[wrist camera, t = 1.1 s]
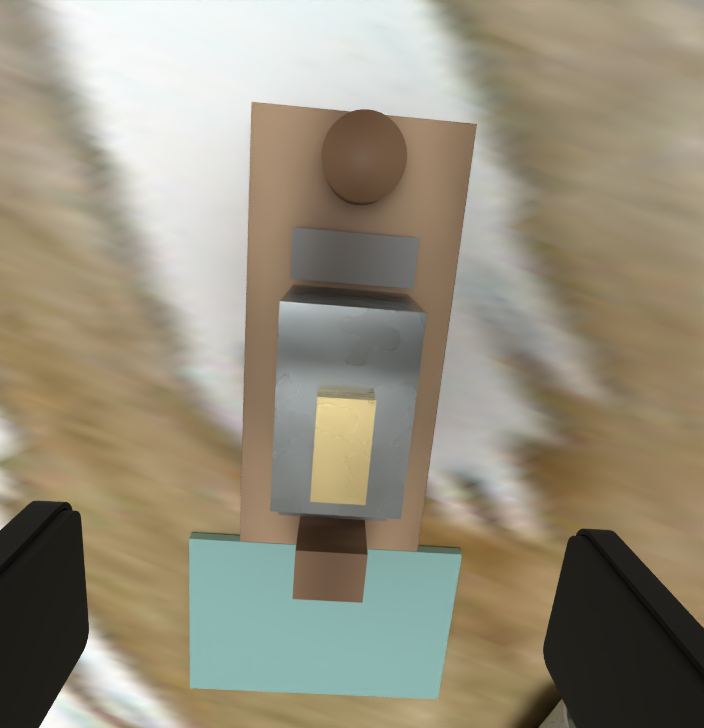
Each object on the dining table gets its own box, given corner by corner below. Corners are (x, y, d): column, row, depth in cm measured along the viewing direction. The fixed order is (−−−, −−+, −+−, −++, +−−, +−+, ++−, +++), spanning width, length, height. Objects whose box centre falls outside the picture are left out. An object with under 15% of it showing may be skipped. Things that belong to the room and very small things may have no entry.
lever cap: (407, 293, 22) (431, 317, 16) (388, 459, 24) (403, 531, 18) (293, 284, 21) (276, 304, 16) (284, 452, 23) (267, 523, 18)
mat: (459, 548, 30) (462, 554, 29) (436, 690, 33) (437, 699, 32) (192, 532, 29) (189, 538, 28) (192, 679, 32) (189, 688, 31)
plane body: (454, 140, 24) (509, 99, 16) (407, 508, 29) (431, 610, 21) (266, 122, 23) (229, 71, 16) (253, 498, 29) (220, 599, 21)
